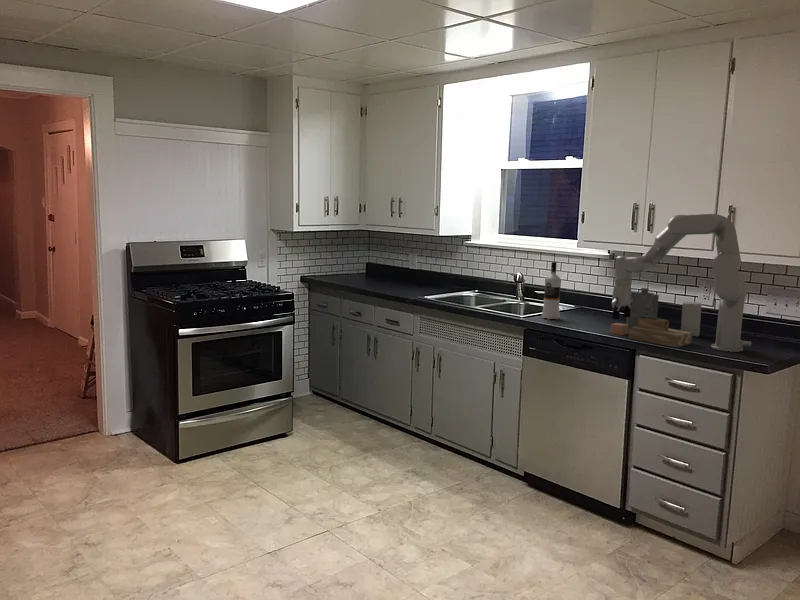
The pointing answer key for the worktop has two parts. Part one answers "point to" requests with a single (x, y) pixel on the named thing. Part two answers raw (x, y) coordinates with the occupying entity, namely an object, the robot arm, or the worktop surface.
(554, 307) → the vodka
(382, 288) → the worktop surface
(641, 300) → the hip flask
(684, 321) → the skincare box
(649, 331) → the stepped wooden block
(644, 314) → the t-key bolt
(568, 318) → the worktop surface
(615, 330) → the cover cap
